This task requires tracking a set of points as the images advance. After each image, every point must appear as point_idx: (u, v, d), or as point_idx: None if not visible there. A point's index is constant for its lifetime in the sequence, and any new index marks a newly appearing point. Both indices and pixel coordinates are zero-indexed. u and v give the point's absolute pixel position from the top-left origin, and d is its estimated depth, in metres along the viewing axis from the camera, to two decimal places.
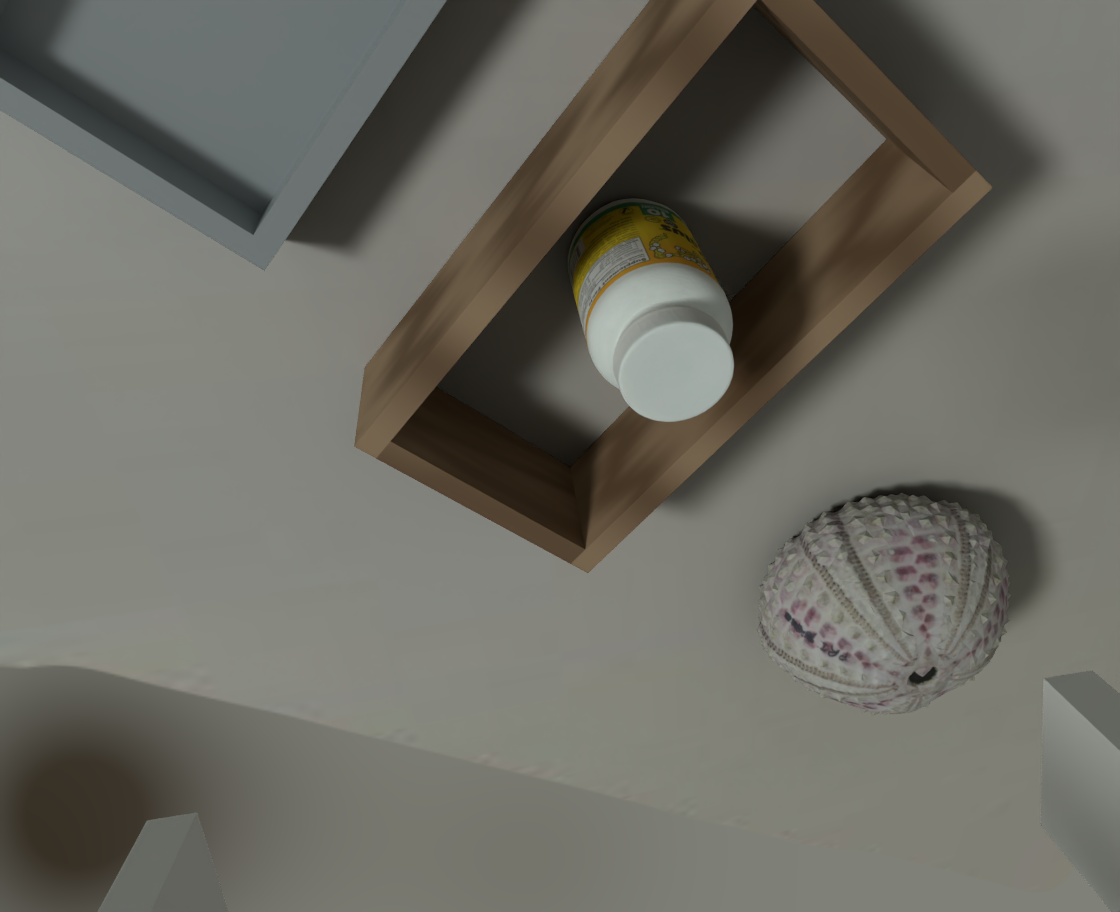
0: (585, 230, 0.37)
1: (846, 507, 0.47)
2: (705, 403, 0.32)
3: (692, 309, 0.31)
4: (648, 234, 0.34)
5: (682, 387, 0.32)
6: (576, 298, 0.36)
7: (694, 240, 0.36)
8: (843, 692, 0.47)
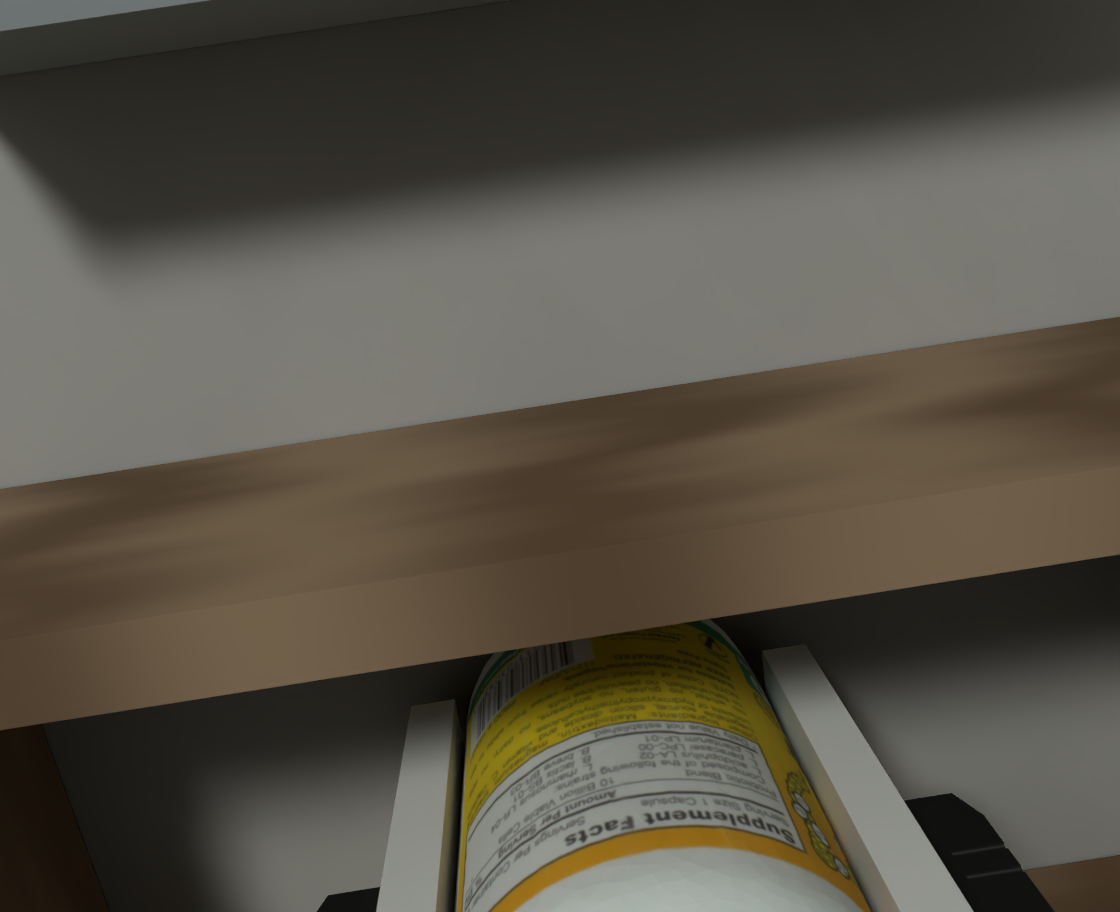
0: None
1: None
2: None
3: None
4: (775, 752, 0.13)
5: None
6: (500, 755, 0.13)
7: None
8: None
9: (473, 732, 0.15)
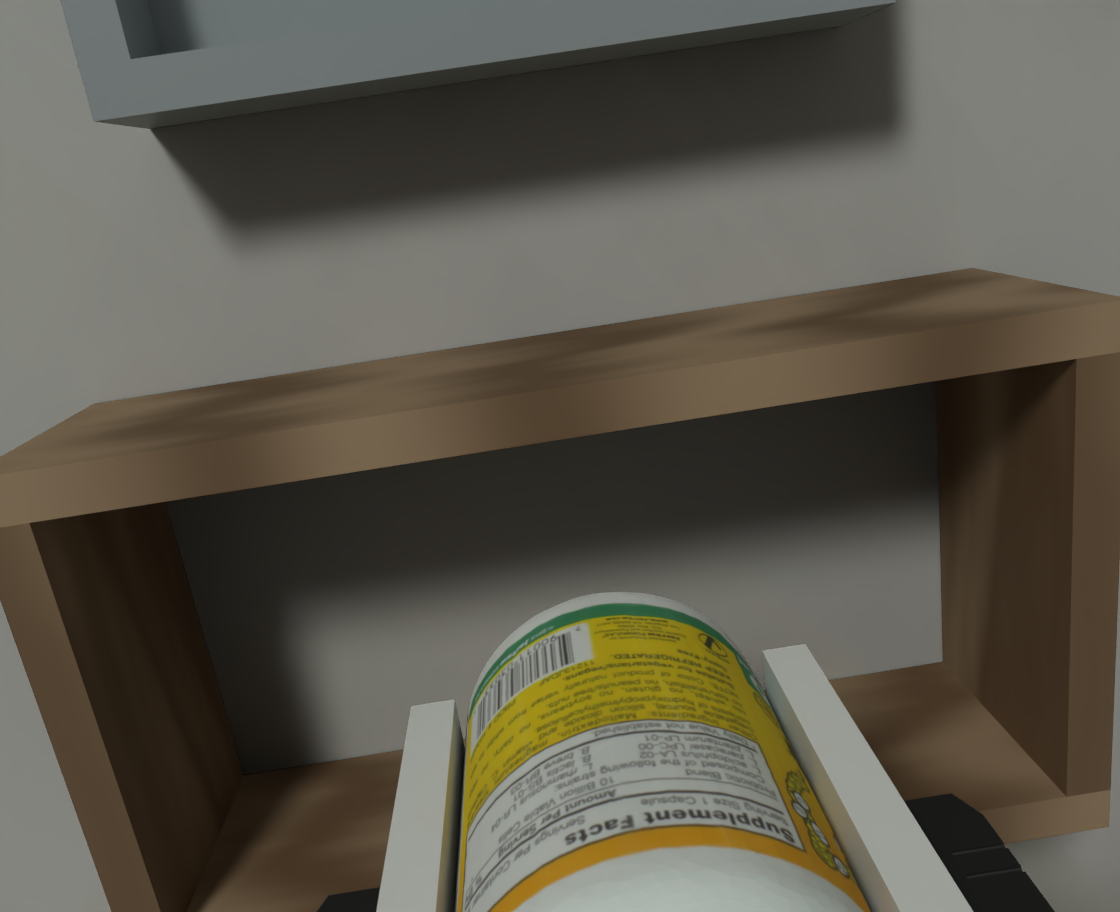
0: (602, 616, 0.15)
1: None
2: None
3: None
4: (775, 751, 0.13)
5: None
6: (500, 755, 0.13)
7: None
8: None
9: (473, 732, 0.15)
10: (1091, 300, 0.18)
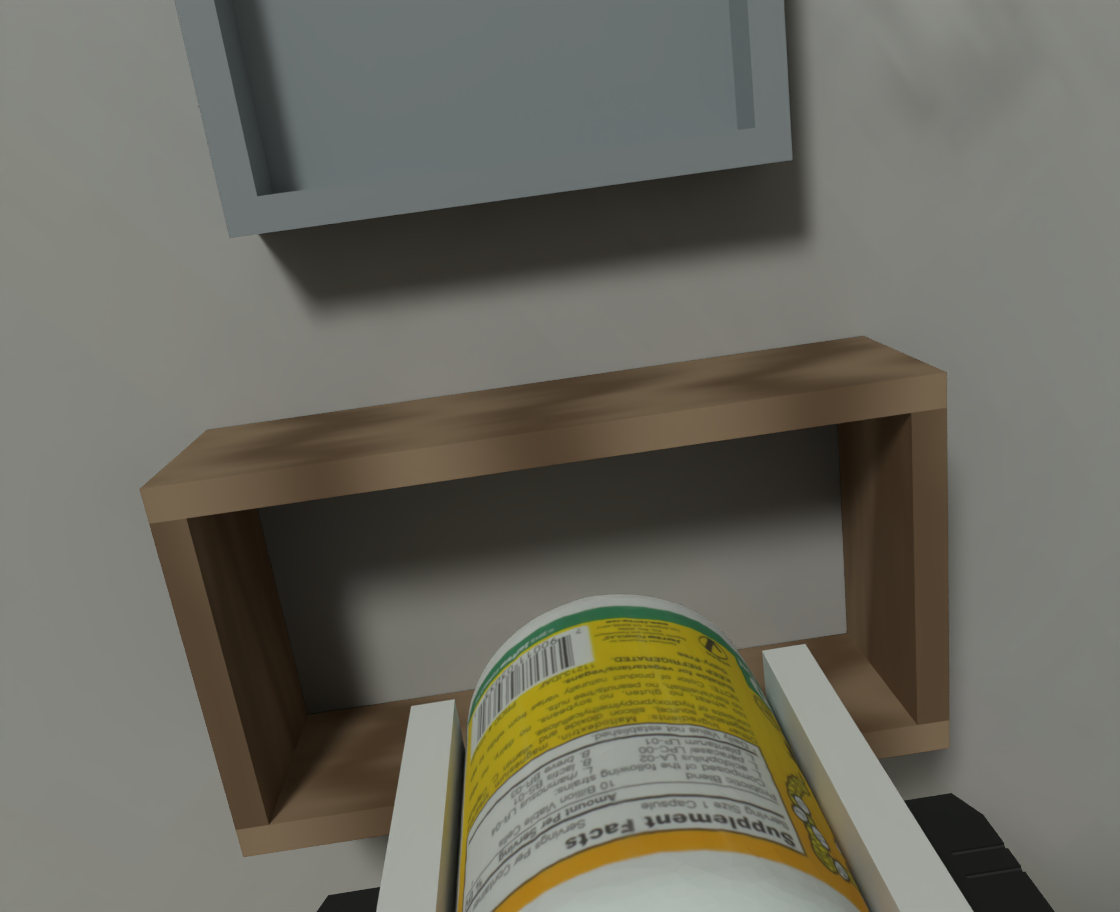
0: (603, 618, 0.15)
1: None
2: None
3: None
4: (775, 754, 0.13)
5: None
6: (501, 758, 0.13)
7: None
8: None
9: (473, 734, 0.15)
10: (922, 372, 0.26)
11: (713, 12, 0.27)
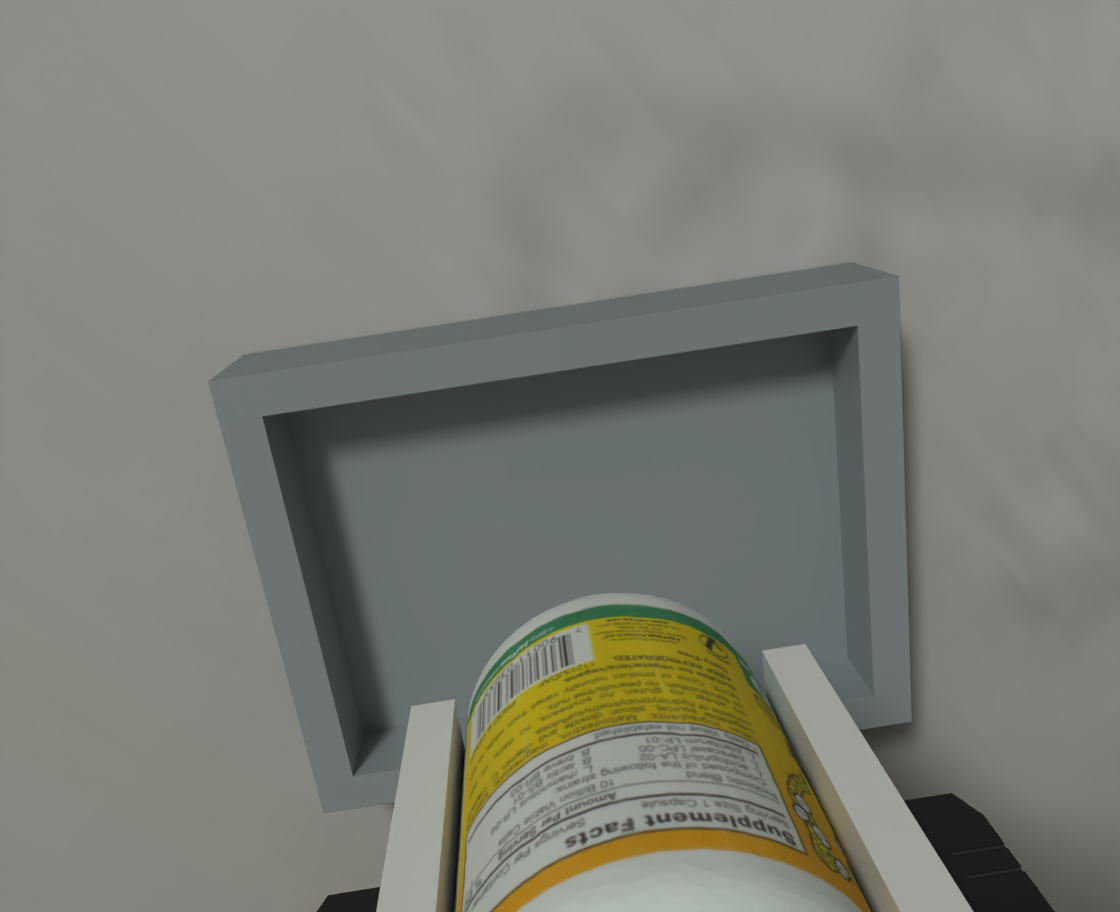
0: (603, 617, 0.15)
1: None
2: None
3: None
4: (776, 753, 0.13)
5: None
6: (500, 757, 0.13)
7: None
8: None
9: (473, 733, 0.15)
10: None
11: (825, 554, 0.26)
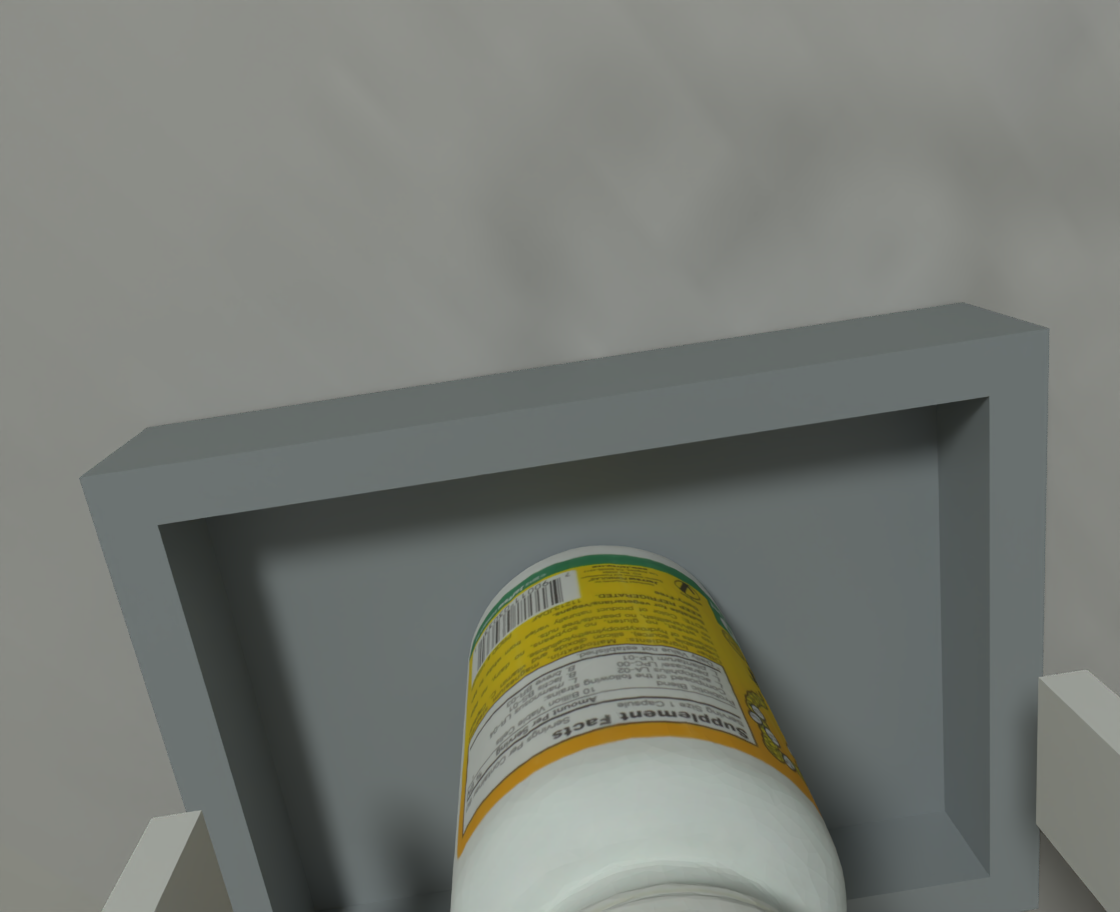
0: (589, 564, 0.17)
1: None
2: None
3: None
4: (737, 674, 0.14)
5: None
6: (498, 678, 0.15)
7: None
8: None
9: (474, 666, 0.17)
10: None
11: (920, 683, 0.19)
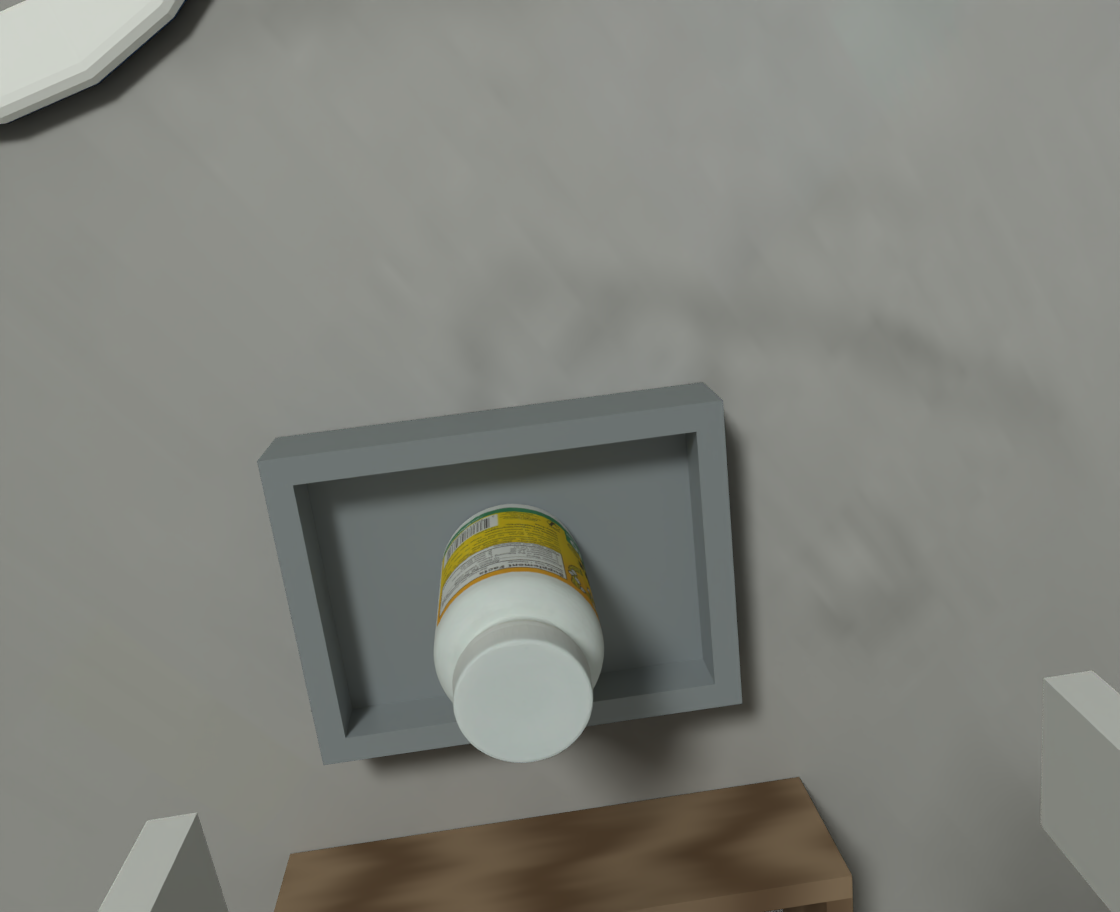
0: (504, 511, 0.33)
1: None
2: (521, 754, 0.27)
3: (582, 653, 0.27)
4: (568, 558, 0.31)
5: (516, 720, 0.26)
6: (456, 560, 0.31)
7: None
8: None
9: (445, 561, 0.33)
10: (835, 871, 0.35)
11: (685, 584, 0.36)
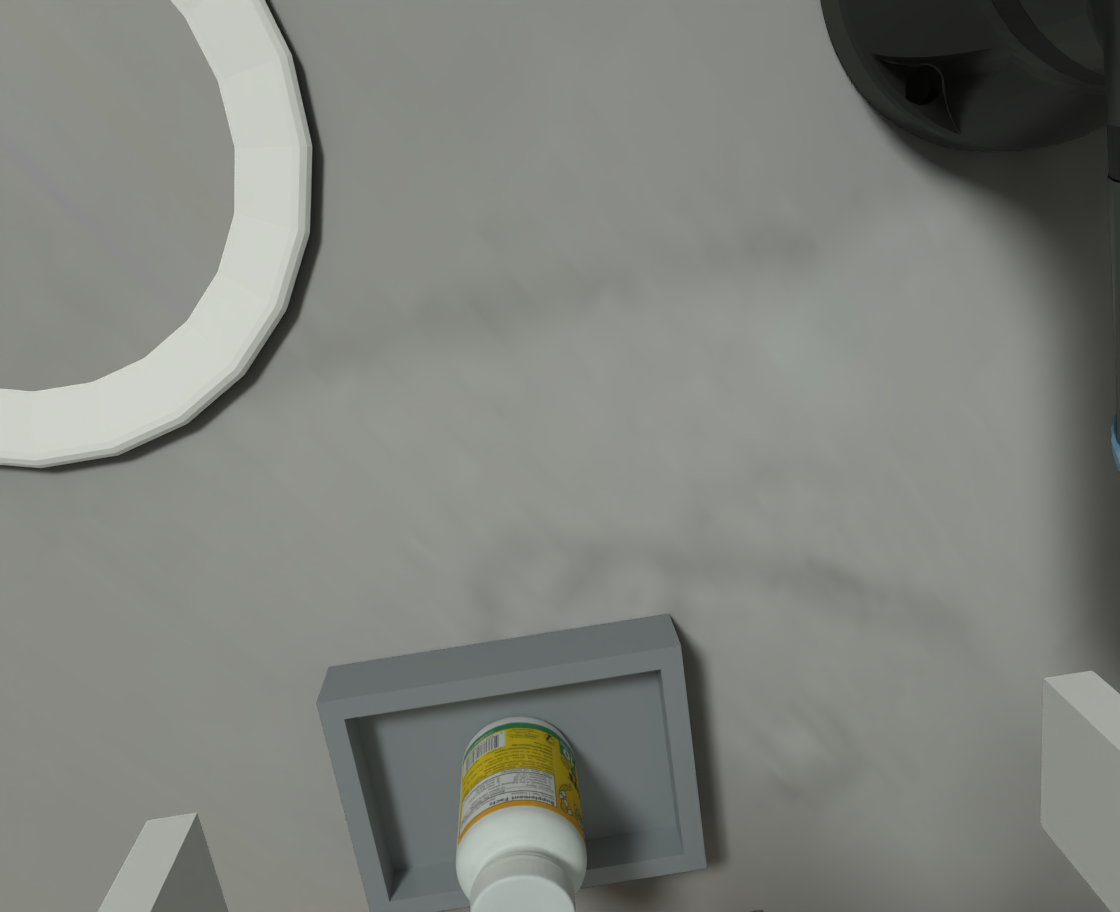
0: (510, 728, 0.42)
1: None
2: None
3: (567, 876, 0.36)
4: (560, 778, 0.40)
5: None
6: (473, 779, 0.40)
7: None
8: None
9: (464, 769, 0.42)
10: None
11: (659, 770, 0.45)
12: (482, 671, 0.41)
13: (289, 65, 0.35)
